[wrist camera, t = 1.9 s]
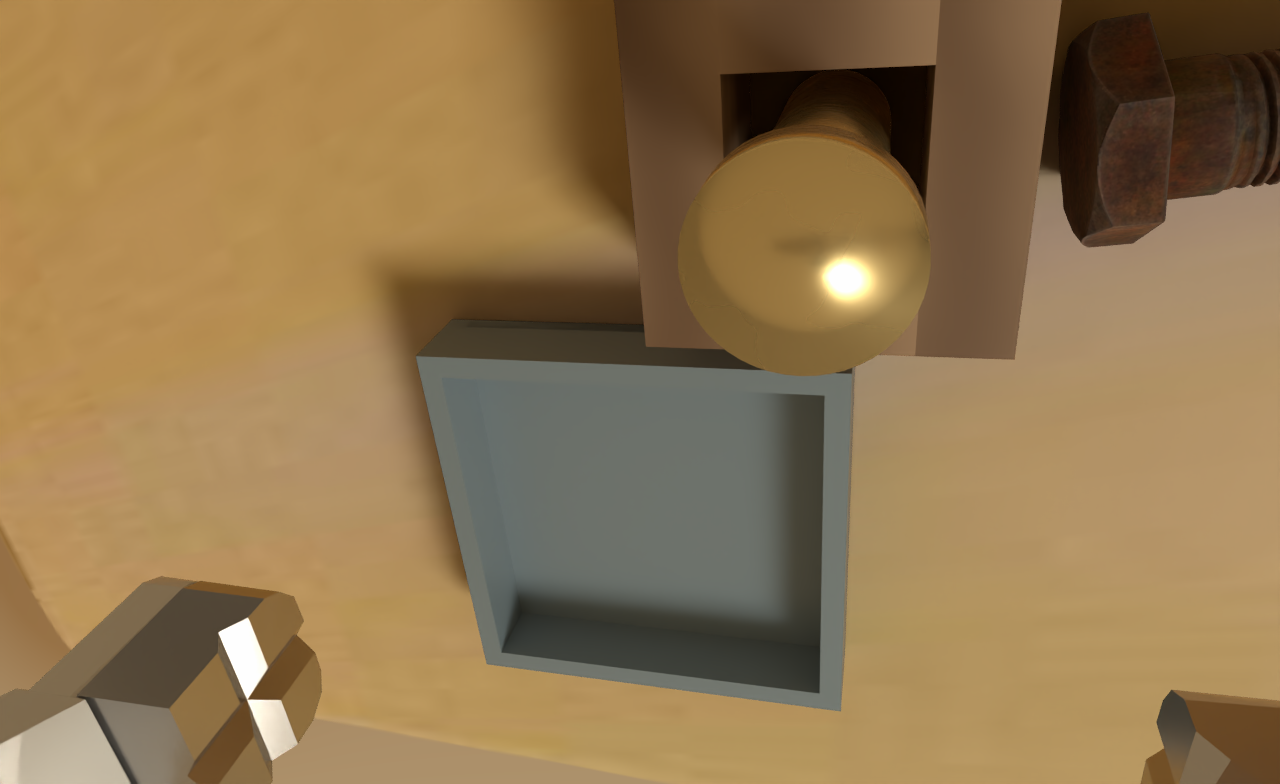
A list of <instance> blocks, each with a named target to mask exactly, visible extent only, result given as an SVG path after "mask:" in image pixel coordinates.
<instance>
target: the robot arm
mask: <svg viewBox="0 0 1280 784" xmlns="http://www.w3.org/2000/svg"><path fill="white" fill-rule="evenodd" d="M303 622H304V620H303V617H302V615H301V613H300V610H299V608H298V605H297V603H296V601H295V598H294V596H290V595H287V594H284V593H281V592H276V591H269V590H262V589H255V588H248V587H241V586H233V585H226V584H219V583H212V582H205V581H199V582H198V581H191V580H184V579H177V578H170V577H163V576H161V577H158V578H155V579H152V580H149V581H147V582H144V583H142V584H141V585H140V586H139V587H138V588H137V589H136V590H135V591H133V592H132V593H131V594H130V595H129V596H128V597H127V598H126V599H125V600H124V601H123V602H122V603H121V604H120V605H119V606H118V607H116V608H115V609H114V610H113V611H112V612H111V613H110V614H109V615H108V616H107V617H106V618H105V619H104V620H103V621H102V622H101V623H100V624H98V625H97V626H96V627H95V628H94V629H93V630H92V631H91V632H90V633H89V634H88V635H87V636H86V637H85V638H84V639H83V640H81V641H80V642H79V643H78V644H77V645H76V646H75V647H74V648H73V649H72V650H71V651H70V652H69V653H68V654H67V655H66V656H64V657H63V658H62V659H61V660H60V661H59V662H58V663H57V664H56V665H55V666H54V667H53V668H52V669H51V670H50V671H49V672H48V673H46V674H45V675H44V677H42V678H41V679H40V680H39V681H38V682H37V683H36V684H35V685H34V686H33V687H32V688H31V689H29V690H24V689H14V690H12V691H10V692H8V693H6V694H4V695H2V696H0V784H271V783H272V781H273V780H272V760H273V759H275V758H276V757H278V756H280V755H281V754H283V753H284V752H286V751H288V750H289V749H291V748H292V747H294V746H296V745H297V744H298V743H299V741H300V740H301V738H302V737H303V735H304V734H305V732H306V730H307V729H308V727H309V726H310V724H311V723H312V721H313V719H314V716H315V713H316V709H317V706H318V703H319V699H320V696H321V693H322V685H321V669H320V666H319V663H318V660H317V657H316V654H315V652H314V651H313V650H312V649H311V648H310V647H309V646H308V645H307V644H306V643H305V642H304V641H302V640H301V639H300V638H299V637H298V636H297V633H298V631H299V629H300V627H301V626H302V624H303ZM1157 725H1158V729H1159V732H1160V735H1161V739H1162V742H1163V745H1164V749H1162V750H1161V751H1159V752H1157V753H1156V754H1154V755H1153V756H1151V757H1149V758H1148V759H1146V763H1145V767H1144V771H1143V776H1142V780H1141V784H1280V701H1277V700H1267V699H1258V698H1248V697H1238V696H1228V695H1218V694H1208V693H1198V692H1189V691H1179V690H1171V691H1170V692H1169V694H1168V695H1167V696H1166V697H1165V699H1164V700H1163V702H1162V706H1161V709H1160V712H1159V716H1158V719H1157Z"/></svg>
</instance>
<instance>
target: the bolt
mask: <svg viewBox="0 0 1280 784" xmlns="http://www.w3.org/2000/svg"><path fill="white" fill-rule="evenodd" d="M1058 137H1059V161H1060V174H1061V184H1062V193H1063V207H1064V211H1065V213H1066V216H1067V219H1068V221H1069V224H1070V226H1071V228H1072V231H1073V233H1074V234H1075V235H1076V237H1077V238H1078V239H1079V240H1080V242H1081V243H1082V244H1083V245H1084V246H1086V247H1099V246H1110V245H1121V244H1132V243H1134V242H1135V241H1137V240H1138V239H1140V238H1141V237H1143V236H1144V235H1146V234H1147V233H1149V232H1150V231H1151V230H1153V229H1154V228H1156V227H1157V226H1159V225H1160V224H1162V223H1163V222H1164V221H1165V216H1166V204H1167V200H1169V199H1178V198H1187V197H1196V196H1205V195H1214V194H1217V193H1219V192H1221V191H1222V190H1227V189H1230V188H1233V187H1237V188H1244V187H1246V186H1248V185H1252V186H1254V187H1255V186H1261V185H1262V184H1263V183H1267V184H1269V185H1272V184H1277V183H1279V182H1280V49H1278V50H1264V51H1263V52H1261V53H1257V52H1251V53H1248V54H1245V55H1242V54H1237V55H1231V56H1224V55H1221V54H1210V55H1202V56H1195V57H1188V58H1181V59H1174V60H1167V61H1164V59H1163V55H1162V52H1161V49H1160V46H1159V42H1158V39H1157V36H1156V33H1155V29H1154V26H1153V23H1152V20H1151V17H1150V14H1149V13H1142V14H1135V15H1129V16H1123V17H1117V18H1111V19H1105V20H1099V21H1097V22H1095V23H1094V24H1093V25H1091V26H1090V27H1088V28H1087V29H1086V30H1084V31H1083V32H1082V33H1080V34H1079V35H1078V36H1077V37H1076V38H1075V39H1074V40H1073V41H1072V43H1071V44H1070V46H1069V48H1068V53H1067V58H1066V62H1065V67H1064V72H1063V76H1062V84H1061V93H1060V118H1059V133H1058Z"/></svg>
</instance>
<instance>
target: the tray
mask: <svg viewBox="0 0 1280 784" xmlns="http://www.w3.org/2000/svg"><path fill="white" fill-rule="evenodd" d="M416 360H417V364H418V369H419V373H420V377H421V382H422V386H423V390H424V395H425V399H426V403H427V408H428V412H429V416H430V421H431V425H432V429H433V434H434V438H435V442H436V447H437V451H438V455H439V460H440V464H441V468H442V472H443V477H444V481H445V485H446V490H447V494H448V498H449V503H450V507H451V511H452V516H453V520H454V524H455V529H456V533H457V537H458V542H459V546H460V550H461V555H462V559H463V563H464V568H465V572H466V576H467V581H468V585H469V589H470V593H471V598H472V602H473V606H474V611H475V615H476V619H477V624H478V628H479V632H480V637H481V641H482V645H483V650H484V654H485V658H486V663H487V664H490V665H497V666H505V667H512V668H520V669H527V670H535V671H542V672H550V673H557V674H565V675H572V676H580V677H587V678H595V679H602V680H610V681H617V682H625V683H632V684H640V685H647V686H655V687H662V688H670V689H677V690H685V691H692V692H700V693H707V694H715V695H722V696H730V697H737V698H745V699H752V700H760V701H767V702H775V703H782V704H790V705H797V706H805V707H812V708H820V709H827V710H835V711H841V700H842V686H843V672H844V658H845V634H846V605H847V577H848V548H849V519H850V491H851V462H852V433H853V405H854V376H855V367H853V368H850V369H847V370H844V371H840V372H836V373H832V374H826V375H819V376H792V375H783V374H779V373H774V372H769V371H766V370H763V369H760V368H757V367H755V366H752V365H750V364H748V363H746V362H744V361H742V360H740V359H738V358H737V357H735V356H734V355H732V354H730V353H729V352H727V351H726V350H725V349H697V348H669V347H646V343H645V332H644V325H631V324H596V323H561V322H526V321H491V320H456V319H452V320H451V321H450V322H449V323H448V324H447V325H446V326H445V327H444V328H443V329H442V330H441V331H440V332H439V333H438V334H437V335H436V336H435V337H434V338H433V339H432V340H431V341H430V342H429V343H428V344H427V345H426V346H425V347H424V348H423V349H422V350H421V351H420V352H419V353H418V354H417V355H416Z"/></svg>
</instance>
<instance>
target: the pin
mask: <svg viewBox="0 0 1280 784" xmlns="http://www.w3.org/2000/svg"><path fill="white" fill-rule="evenodd" d="M890 149H891V111H890V107H889V104H888V101H887V99H886V97H885V95H884V94H883V92H882V91H881V89H880V88H879V87H878V86H877V85H876V84H875V83H874V82H873V81H872V80H870V79H869V78H867V77H866V76H864V75H862V74H860V73H857V72H854V71H850V70H843V69H835V70H828V71H824V72H821V73H818V74H815V75H813V76H812V77H810V78H808V79H807V80H805V81H804V82H803V83H801V84H800V85H799V86H798V87H797V88H796V89H795V91H794V92H793V93H792V94H791V96H790V98H789V99H788V101H787V103H786V105H785V107H784V109H783V111H782V114H781V116H780V118H779V120H778V122H777V124H776V126H775V128H774V130H771V131H769V132H766V133H763V134H761V135H758V136H756V137H754V138H752V139H750V140H748V141H746V142H745V143H743V144H742V145H740V146H739V147H737V148H736V149H735V150H733V151H732V152H730V153H729V154H728V155H727V156H726V157H725V158H724V159H723V160H722V161H721V162H720V163H719V164H718V165H717V166H716V167H715V169H714V170H713V171H712V172H711V174H710V175H709V176H708V178H707V180H706V181H705V183H704V185H703V186H702V188H701V189H700V191H699V193H698V194H697V196H696V197H695V199H694V201H693V202H692V204H691V206H690V208H689V210H688V212H687V214H686V217H685V219H684V222H683V225H682V229H681V232H680V237H679V244H678V271H679V278H680V283H681V286H682V290H683V293H684V296H685V298H686V301H687V303H688V305H689V308H690V309H691V311H692V313H693V315H694V316H695V318H696V320H697V321H698V322H699V324H700V325H701V326H702V328H703V329H704V330H705V332H706V333H707V334H708V335H709V336H710V337H711V338H712V339H713V340H714V341H715V342H716V343H717V344H719V345H720V346H721V347H722V348H724V349H725V350H726V351H727V352H729V353H730V354H732V355H734V356H735V357H737V358H738V359H740V360H742V361H744V362H746V363H748V364H750V365H752V366H755V367H757V368H760V369H763V370H766V371H769V372H774V373H779V374H783V375H792V376H819V375H826V374H832V373H836V372H840V371H844V370H847V369H850V368H853V367H855V366H858V365H860V364H862V363H864V362H866V361H868V360H870V359H872V358H874V357H875V356H877V355H878V354H880V353H881V352H883V351H884V350H885V349H887V348H888V347H889V346H890V345H891V344H892V343H893V342H895V341H896V340H897V339H898V338H899V337H900V336H901V334H902V333H903V332H904V331H905V330H906V329H907V327H908V326H909V325H910V323H911V322H912V320H913V319H914V317H915V315H916V314H917V312H918V310H919V308H920V306H921V303H922V301H923V299H924V296H925V293H926V289H927V286H928V282H929V275H930V269H931V249H930V236H929V226H928V219H927V213H926V210H925V207H924V203H923V200H922V198H921V195H920V193H919V191H918V189H917V187H916V185H915V183H914V182H913V180H912V179H911V177H910V176H909V174H908V173H907V171H906V170H905V169H904V168H903V167H902V166H901V164H900V163H899V162H898V161H897V160H896V159H895V158H894V157H893V156H892V155H890Z"/></svg>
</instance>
